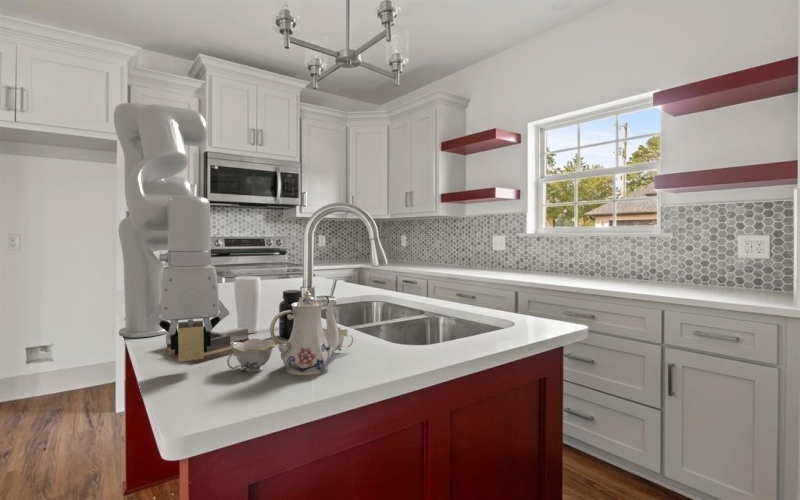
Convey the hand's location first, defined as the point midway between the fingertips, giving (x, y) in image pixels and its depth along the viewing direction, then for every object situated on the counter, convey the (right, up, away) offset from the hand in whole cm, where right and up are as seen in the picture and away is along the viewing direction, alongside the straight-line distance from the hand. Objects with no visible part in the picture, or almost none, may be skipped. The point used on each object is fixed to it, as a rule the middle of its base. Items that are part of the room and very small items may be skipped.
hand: (191, 350), depth 86 cm
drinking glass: (0, -3, +33) cm, 33 cm away
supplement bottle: (+13, -3, +29) cm, 32 cm away
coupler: (0, -1, 0) cm, 1 cm away
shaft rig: (-4, -3, +17) cm, 18 cm away
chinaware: (+21, -5, +5) cm, 22 cm away
